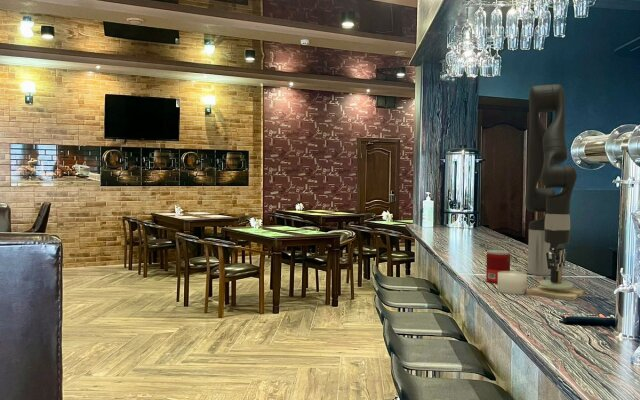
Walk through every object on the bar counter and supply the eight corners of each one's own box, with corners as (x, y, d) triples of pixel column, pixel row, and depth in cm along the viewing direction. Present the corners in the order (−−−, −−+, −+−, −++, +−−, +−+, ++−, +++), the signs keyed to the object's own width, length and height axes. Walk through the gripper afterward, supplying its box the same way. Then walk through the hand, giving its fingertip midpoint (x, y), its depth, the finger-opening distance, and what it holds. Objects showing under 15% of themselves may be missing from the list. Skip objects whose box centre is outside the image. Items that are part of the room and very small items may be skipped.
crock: (503, 287, 187) (504, 270, 187) (530, 291, 181) (531, 273, 181) (493, 291, 180) (493, 273, 180) (520, 295, 174) (521, 276, 174)
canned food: (511, 284, 192) (511, 253, 192) (487, 283, 194) (487, 252, 193) (508, 280, 200) (508, 250, 199) (485, 279, 201) (485, 249, 201)
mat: (540, 287, 187) (540, 284, 187) (585, 293, 178) (585, 290, 178) (526, 294, 177) (526, 291, 176) (572, 300, 168) (572, 297, 168)
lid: (545, 281, 184) (545, 263, 184) (577, 285, 178) (577, 267, 178) (534, 286, 177) (535, 267, 176) (567, 290, 170) (568, 270, 170)
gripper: (552, 225, 184) (551, 277, 185) (537, 228, 174) (536, 283, 174) (576, 227, 180) (574, 279, 180) (562, 230, 169) (561, 286, 169)
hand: (556, 281), depth 177 cm, fingers closed on lid, 3 cm apart
